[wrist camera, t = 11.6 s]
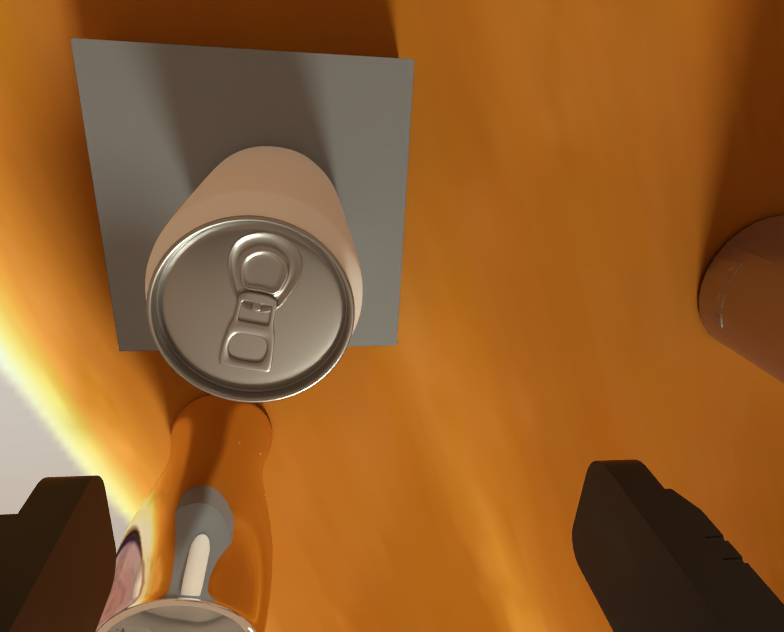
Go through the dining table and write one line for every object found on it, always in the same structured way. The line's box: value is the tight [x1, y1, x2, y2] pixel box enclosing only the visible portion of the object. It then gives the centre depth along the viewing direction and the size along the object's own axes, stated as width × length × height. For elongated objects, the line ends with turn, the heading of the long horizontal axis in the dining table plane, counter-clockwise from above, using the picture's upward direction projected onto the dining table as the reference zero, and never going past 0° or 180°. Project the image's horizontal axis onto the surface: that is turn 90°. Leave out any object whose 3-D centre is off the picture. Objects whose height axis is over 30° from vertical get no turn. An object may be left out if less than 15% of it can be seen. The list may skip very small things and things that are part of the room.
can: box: [145, 146, 363, 403], centre depth 21 cm, size 6×6×12 cm
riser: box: [70, 38, 414, 351], centre depth 28 cm, size 14×14×4 cm
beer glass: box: [96, 395, 273, 632], centre depth 28 cm, size 7×7×15 cm
